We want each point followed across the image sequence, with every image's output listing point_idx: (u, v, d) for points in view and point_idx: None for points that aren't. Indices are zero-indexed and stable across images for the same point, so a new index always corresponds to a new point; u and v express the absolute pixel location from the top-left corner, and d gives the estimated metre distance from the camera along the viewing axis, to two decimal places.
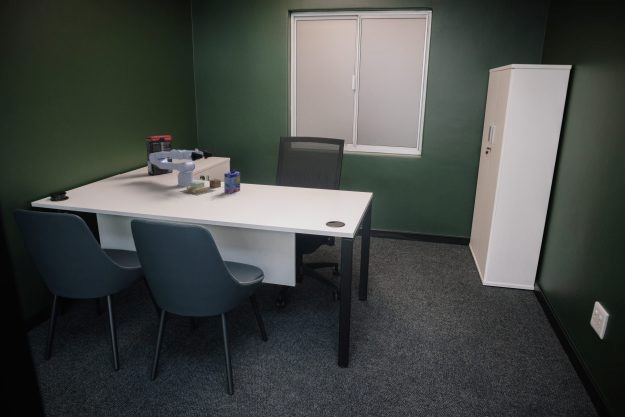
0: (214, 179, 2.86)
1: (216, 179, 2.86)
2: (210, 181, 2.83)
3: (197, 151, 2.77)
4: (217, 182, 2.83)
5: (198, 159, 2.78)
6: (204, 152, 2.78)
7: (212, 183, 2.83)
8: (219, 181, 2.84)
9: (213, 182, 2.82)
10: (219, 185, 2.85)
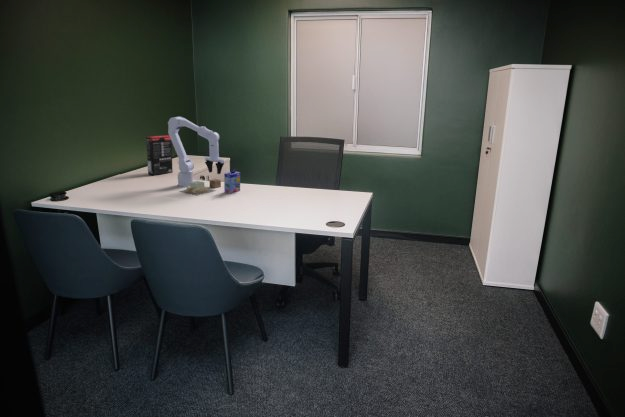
0: (214, 179, 2.86)
1: (216, 179, 2.86)
2: (210, 181, 2.83)
3: None
4: (217, 182, 2.83)
5: None
6: (211, 162, 2.85)
7: (212, 183, 2.83)
8: (219, 181, 2.84)
9: (213, 182, 2.82)
10: (219, 185, 2.85)
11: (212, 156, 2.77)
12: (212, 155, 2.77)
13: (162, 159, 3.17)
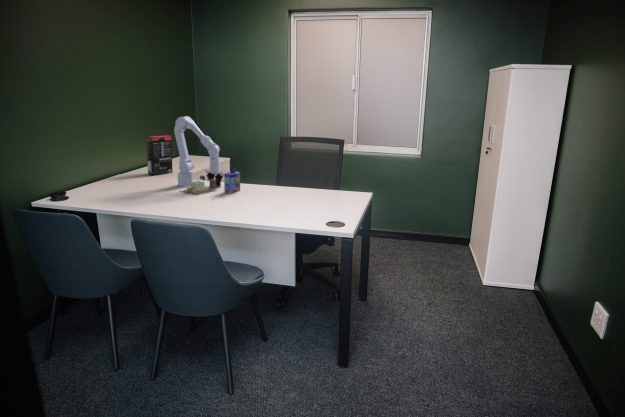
0: (214, 179, 2.86)
1: None
2: (210, 181, 2.83)
3: None
4: None
5: (211, 172, 2.81)
6: (213, 175, 2.86)
7: (212, 183, 2.83)
8: None
9: (213, 182, 2.82)
10: None
11: (212, 169, 2.80)
12: (212, 168, 2.79)
13: (162, 159, 3.17)
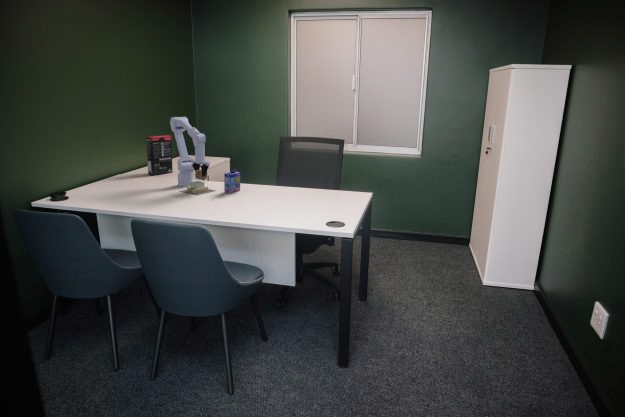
0: (200, 169, 2.74)
1: None
2: (196, 171, 2.72)
3: None
4: None
5: (196, 162, 2.69)
6: (199, 165, 2.75)
7: (198, 173, 2.71)
8: None
9: (199, 172, 2.71)
10: (205, 176, 2.74)
11: (198, 158, 2.68)
12: (198, 157, 2.68)
13: (162, 159, 3.17)
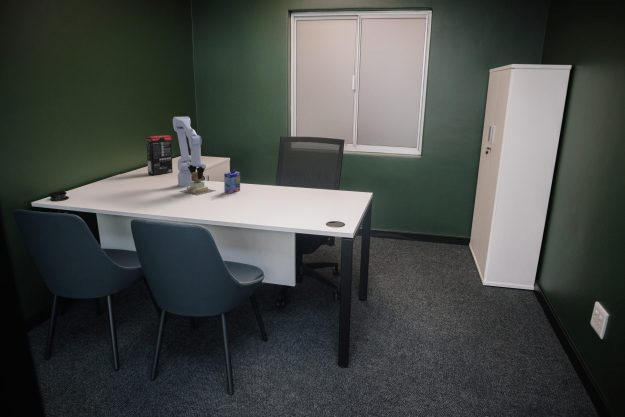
0: (196, 172, 2.72)
1: None
2: (192, 174, 2.70)
3: None
4: None
5: (192, 165, 2.67)
6: (195, 167, 2.72)
7: (194, 176, 2.69)
8: None
9: (195, 175, 2.68)
10: None
11: (194, 161, 2.66)
12: (194, 160, 2.65)
13: (162, 159, 3.17)
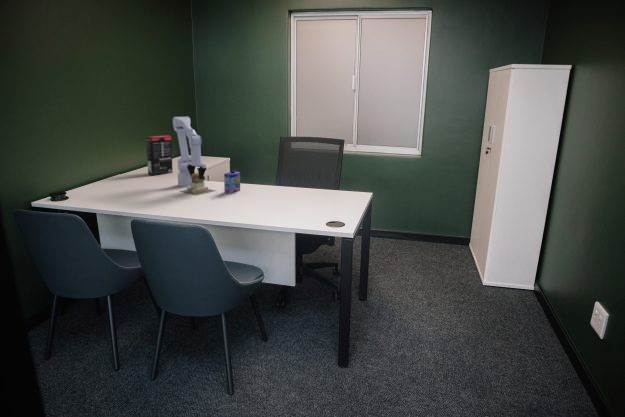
0: (196, 173, 2.72)
1: (198, 173, 2.72)
2: (192, 175, 2.70)
3: None
4: None
5: (192, 165, 2.67)
6: (194, 167, 2.73)
7: (194, 177, 2.69)
8: None
9: (195, 176, 2.68)
10: (201, 180, 2.71)
11: (194, 161, 2.66)
12: (194, 160, 2.65)
13: (162, 159, 3.17)
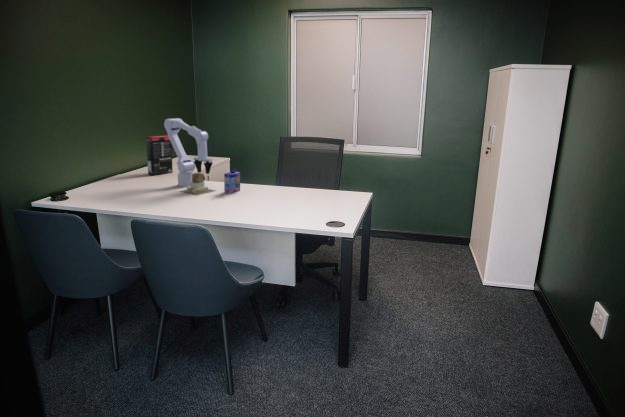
0: (196, 173, 2.73)
1: (198, 173, 2.73)
2: (193, 175, 2.70)
3: None
4: (200, 176, 2.71)
5: (199, 159, 2.74)
6: (200, 162, 2.80)
7: (195, 177, 2.70)
8: (202, 175, 2.72)
9: (196, 176, 2.69)
10: (202, 179, 2.73)
11: (200, 155, 2.72)
12: (200, 154, 2.72)
13: (162, 159, 3.17)
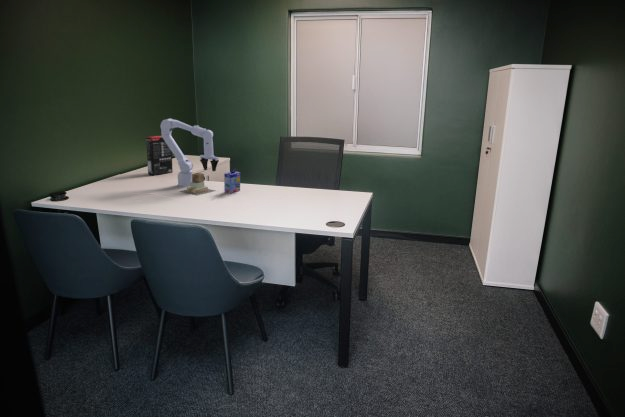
0: (196, 173, 2.73)
1: (198, 173, 2.73)
2: (193, 175, 2.70)
3: None
4: (200, 176, 2.71)
5: (205, 157, 2.81)
6: (206, 160, 2.87)
7: (195, 177, 2.70)
8: (202, 175, 2.72)
9: (196, 176, 2.69)
10: (202, 179, 2.73)
11: (207, 154, 2.80)
12: (207, 153, 2.80)
13: (162, 159, 3.17)
